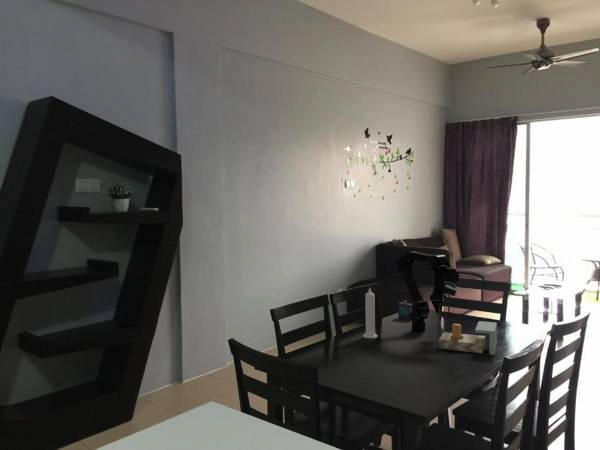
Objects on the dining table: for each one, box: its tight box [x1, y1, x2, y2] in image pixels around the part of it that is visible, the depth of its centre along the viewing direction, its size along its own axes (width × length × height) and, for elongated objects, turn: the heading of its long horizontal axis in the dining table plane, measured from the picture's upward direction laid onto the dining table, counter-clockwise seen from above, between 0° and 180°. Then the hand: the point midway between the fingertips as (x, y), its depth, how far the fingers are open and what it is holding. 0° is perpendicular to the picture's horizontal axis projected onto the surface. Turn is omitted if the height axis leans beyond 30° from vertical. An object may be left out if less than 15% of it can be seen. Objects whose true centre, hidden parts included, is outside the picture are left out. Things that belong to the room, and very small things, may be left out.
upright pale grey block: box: [474, 320, 498, 356], centre depth 228 cm, size 8×16×11 cm, turn 155°
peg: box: [451, 323, 462, 339], centre depth 234 cm, size 4×4×10 cm
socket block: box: [438, 331, 486, 354], centre depth 233 cm, size 19×14×4 cm
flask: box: [398, 300, 412, 321], centre depth 286 cm, size 9×3×11 cm, turn 44°
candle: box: [363, 287, 378, 340], centre depth 251 cm, size 7×7×25 cm
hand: (439, 311), depth 248 cm, fingers open, 9 cm apart
